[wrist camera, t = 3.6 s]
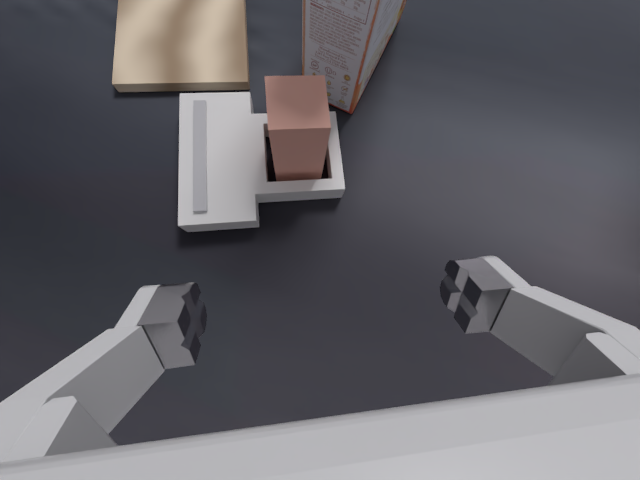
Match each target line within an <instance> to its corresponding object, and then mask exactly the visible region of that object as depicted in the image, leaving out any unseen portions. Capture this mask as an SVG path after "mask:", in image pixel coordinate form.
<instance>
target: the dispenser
mask: <svg viewBox="0 0 640 480" xmlns="http://www.w3.org/2000/svg"><path fill="white" fill-rule="evenodd" d="M329 115H330V123H331V130H330V136H329V141H328V146H327V151H326V161H327V170H328V179H315V180H296V181H278V182H268V167H267V151H266V137H269V132H268V120H267V113H265V114H254V111H253V104H252V99H251V95H250V92H221V93H180V112H179V182H178V226H179V227H180V228H182V229H184V230H185V231H187V232H198V231H212V230H227V229H241V228H255V227H259V208H258V203H263V202H279V201H295V200H312V199H328V198H342V195H343V193H344V190H345V183H344V175H343V167H342V159H341V151H340V143H339V135H338V127H337V119H336V111H334V112H329Z"/></svg>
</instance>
